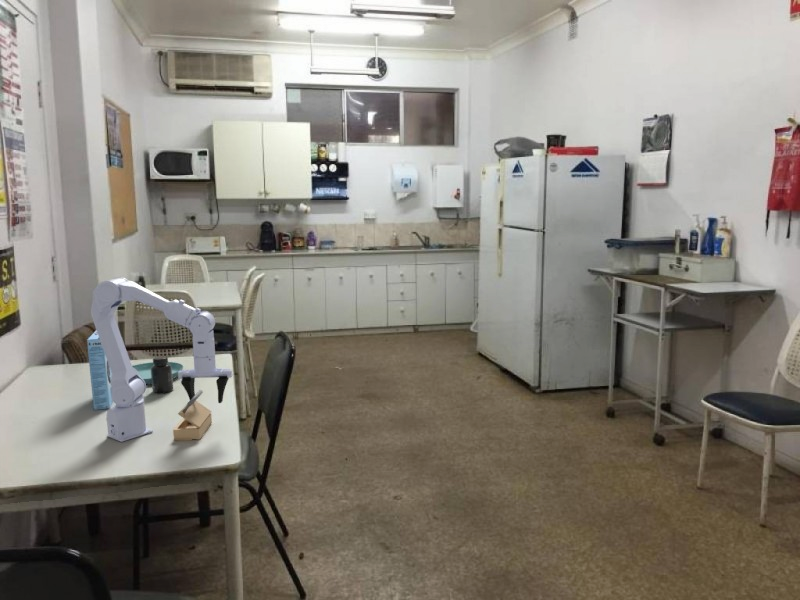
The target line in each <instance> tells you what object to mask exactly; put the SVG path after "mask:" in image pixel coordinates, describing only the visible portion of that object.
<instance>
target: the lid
mask: <svg viewBox="0 0 800 600" xmlns="http://www.w3.org/2000/svg"><path fill="white" fill-rule="evenodd" d="M203 393H204V392H203V390H202V389H199V390H198V391H197V392H195V395H194V397H193V398H192V399H191V400H190V399H189V401H187V403H186V404H185V406H184V407H183V408H182V409H181V410H180V411H178V413H177V414H178V416H180V417H182V419H183V418H184V419H186V420H187V421H189V422H190V423H191V424H193V425H194V426H196V427H197V428H199V427H200V426H201V425H202V423H203V422H204V421H205V420H206V418H207V417H208V416H209V414H210V413H211V414H212V410H210V408H209V409H208V408H207V407H206V406H204V405H203V404H202V403H200V402H199V401H198V399H199V397H201V396H202V394H203Z"/></svg>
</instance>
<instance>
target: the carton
mask: <svg viewBox="0 0 800 600" xmlns="http://www.w3.org/2000/svg"><path fill="white" fill-rule="evenodd" d="M212 421H213V420H212V412H211V413H210V414H209V416H208V417H207V418H206V420H205V421H204V422H203V423H202V425H201V426H200V427H199V428H197V427H196V426H194V425H193V424H191V423H190V422H189V421H187V420H186V419H184V418H183V417H182V419H181V420H180V422H179V423H178V424H177V425H176V426H175V427H174V428H173V429H172V433H173V442H175V441H176V442H178V441H193V440H192V439H200V438H201V437H203V436H204V435H205V434H206V432H207V431H208V429H209V428H210V427H209V426H211V425H212V424H211V423H213V422H212ZM210 424H211V425H210ZM208 427H209V428H208ZM206 430H207V431H206ZM205 431H206V432H205ZM203 434H204V435H203ZM202 435H203V436H202ZM201 439H202V438H201ZM201 439H200V440H201Z"/></svg>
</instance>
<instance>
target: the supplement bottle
mask: <svg viewBox="0 0 800 600" xmlns="http://www.w3.org/2000/svg"><path fill="white" fill-rule="evenodd" d="M152 362H153V364H154V365H153V366H152V367H151V379H152V384H151V388H152V392H153V393H154V394H156V393H157V394H158V395H159V394H160V395H161V394H167V393H170V392H172V391H173V390H174V382H173V380H174V378H172V368H171V365H170V364H167V363H168V362H169V359H168V356H165V355H163V356H155V357H153V358H152Z"/></svg>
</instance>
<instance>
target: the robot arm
mask: <svg viewBox="0 0 800 600" xmlns="http://www.w3.org/2000/svg"><path fill="white" fill-rule="evenodd" d="M91 295H92V302H91V303H92V304H91V309H90V316H91V319H92V321H93V324H94V327H95V331H96V330H97V333H98V336H99V338H100V341H101V344H102V347H103V350H104V352H105V355H106V358H107V361H108V363H109V366H110V369H111V372H112V378H111V382H110V384H111V387H112V393H111V397H112V400H113V402H112V403H114V404H115V405H114V406H113V407H110V408H108V409H107V411H106V425H107V434H106V436H107V437H108V438H111V439H113V440H116V441H119V442H121V443H122V442H125V441H128V440H131V439H135V438H138V437H140V436H144V435H147V434H151V433H154V432H153V431H154V430H153V429H151V428H148V427H147V422H146V412H145V410H146V409H145V399H144V397H143V395H144V394H145V393H146V390H147V385H146V383H145V381H144V380H143V379H142V378H141V377H140V375H139V373H138V371H137V370H136V369H135V368H133V367H132V366H133V365H132V362H131V359H130V357H129V353H128V351H127V349H126V346H125V342H124V339H123V337H122V334H121V331H120V329H119V326H118V323H117V320H116V318H115V313H116V311H117V310H118V308H119V306H120V305H121V304H122V303H123V302H131V301H132V302H133V301H137V302H139V303H142V304H144V305H147V306H149V307H151V308H153V309H156V310H158V311H161V312H163V314H164V316H165V318H166V319H167V320H169V321H172V322H174V323H176V324H178V325H181V326H183V327H185V328H187V329H189V331H190V333H191V334H192V349H193V366H194V369H193V368H192V369H184V370H183V369H182V370H180V371H179V372H178V376H177V378H178V380H180V379H181V381H180V383H181V385H182V387H183V388H184V390H185V393H187V396H188V399H189V401H190V400H191V399H192V398H193V397H194V395H195V394H196V391H195V382H196V381H195V380H196V379H203V378H209V379H210V378H217V379H216V387H217V403H218V404H222V403H223V399H224V393H225V389H226V386H227V384H228V381H229V379H231V378H232V377H233V368H231V369H230V368H229V369H228V368H217V367H216V366H217V364H216V349H215V348H216V347H215V344H216V343H215V334H214V327H215V325H216V318H215V316H214V315H213V313H211V312H209V311H208V310H202V309H201V308H199V307H197V308H196V307H193V306H191V305H189V304H186V301H185V300H183V299H179V300H178V299H173V300H168V299H166V298H164V297H162V296H161V295H159V294H158V293H155V292H153V291H151V290H149V289H147V288H145V287H144V286H141V285H140V284H138V283H137V282H135V281H132V280H128V279H127V278H125V277H121V276H118V277H114V278H112V279H108V280H104V281H101V282H99V283H98V284H97V285H96V287H95V288H94V289H93V291H92V292H91Z"/></svg>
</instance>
